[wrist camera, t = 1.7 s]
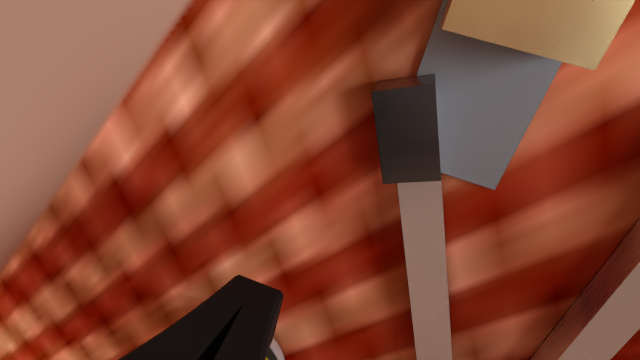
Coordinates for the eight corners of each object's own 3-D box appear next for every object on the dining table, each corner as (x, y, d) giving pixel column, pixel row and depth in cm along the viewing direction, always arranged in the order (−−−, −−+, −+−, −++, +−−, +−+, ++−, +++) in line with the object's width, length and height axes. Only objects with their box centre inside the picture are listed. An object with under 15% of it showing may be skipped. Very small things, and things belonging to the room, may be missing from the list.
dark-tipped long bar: (806, 110, 10) (905, 139, 8) (501, 454, 19) (509, 511, 17) (672, 75, 11) (731, 93, 8) (434, 426, 19) (434, 478, 17)
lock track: (642, -99, 9) (648, -101, 9) (493, 186, 13) (494, 190, 13) (488, -131, 10) (489, -135, 10) (389, 152, 14) (388, 155, 13)
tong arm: (472, 68, 12) (482, 87, 9) (481, 436, 18) (488, 506, 16) (378, 81, 12) (364, 102, 10) (419, 427, 19) (416, 492, 17)
